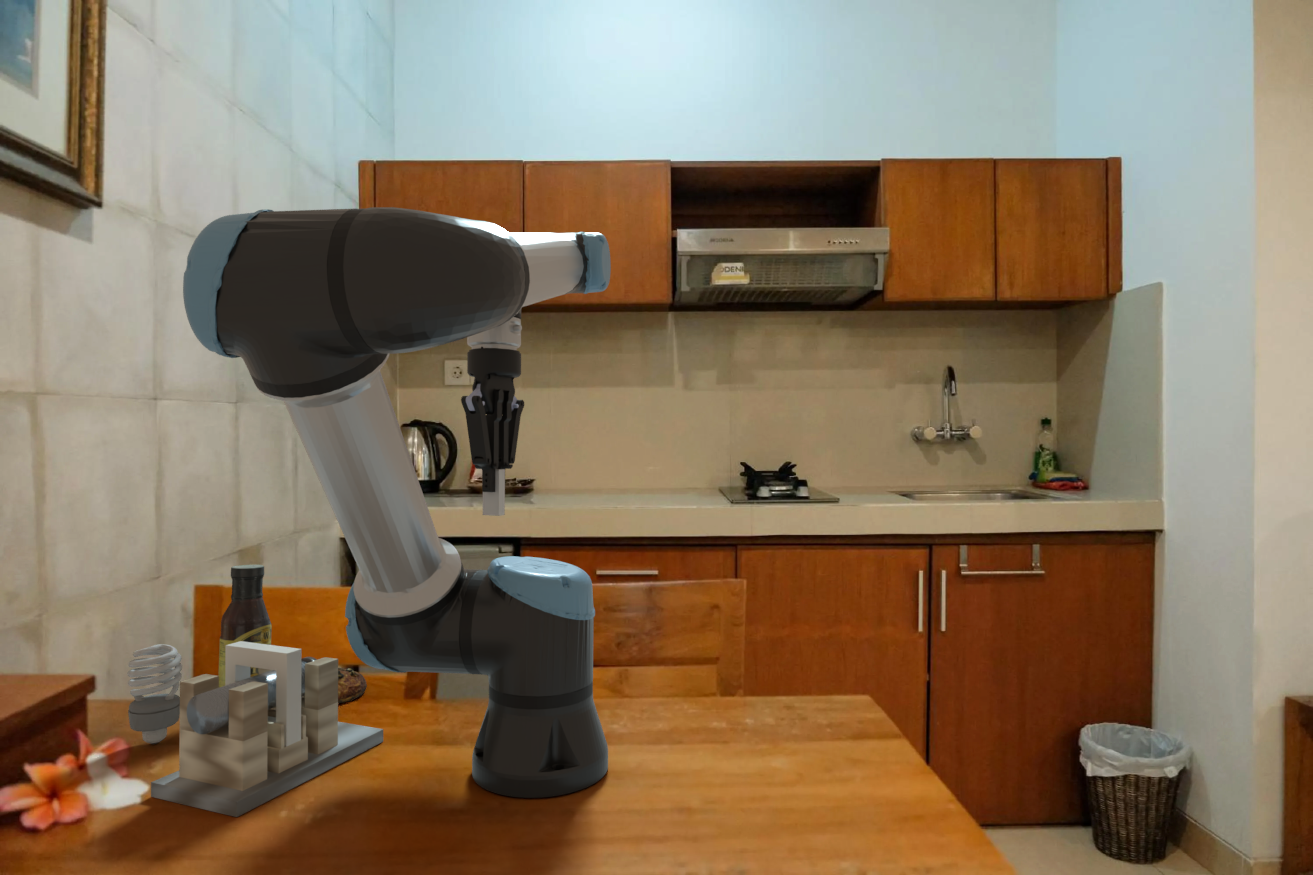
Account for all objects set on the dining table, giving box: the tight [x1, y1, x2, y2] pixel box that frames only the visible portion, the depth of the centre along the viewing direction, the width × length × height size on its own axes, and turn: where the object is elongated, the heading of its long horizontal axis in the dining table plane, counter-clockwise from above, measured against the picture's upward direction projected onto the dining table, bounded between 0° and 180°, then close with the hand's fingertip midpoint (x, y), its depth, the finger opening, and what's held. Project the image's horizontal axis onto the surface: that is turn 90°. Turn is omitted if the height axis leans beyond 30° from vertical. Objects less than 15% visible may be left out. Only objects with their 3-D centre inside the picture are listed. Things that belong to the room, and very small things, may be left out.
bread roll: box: [303, 667, 368, 705], centre depth 114 cm, size 11×11×5 cm
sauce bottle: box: [217, 564, 273, 688], centre depth 107 cm, size 6×6×20 cm
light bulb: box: [126, 643, 183, 745], centre depth 96 cm, size 6×6×12 cm
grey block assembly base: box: [150, 657, 384, 818], centre depth 89 cm, size 12×21×12 cm, turn 159°
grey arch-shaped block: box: [225, 641, 303, 747], centre depth 88 cm, size 9×2×10 cm, turn 69°
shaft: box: [187, 656, 318, 734], centre depth 87 cm, size 14×4×4 cm, turn 159°
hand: (493, 514), depth 113 cm, fingers closed
